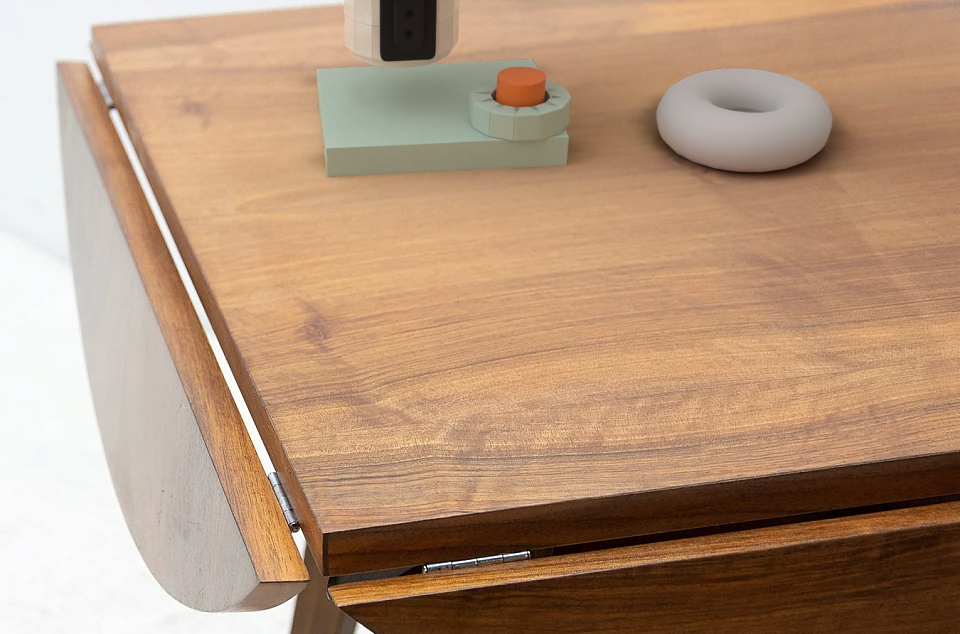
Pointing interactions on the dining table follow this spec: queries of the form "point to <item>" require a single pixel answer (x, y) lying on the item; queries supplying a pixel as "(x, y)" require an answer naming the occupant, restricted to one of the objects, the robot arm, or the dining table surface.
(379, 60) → the bowl
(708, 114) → the donut
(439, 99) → the scale
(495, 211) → the dining table surface
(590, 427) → the dining table surface
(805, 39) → the dining table surface
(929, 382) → the dining table surface
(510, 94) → the button
